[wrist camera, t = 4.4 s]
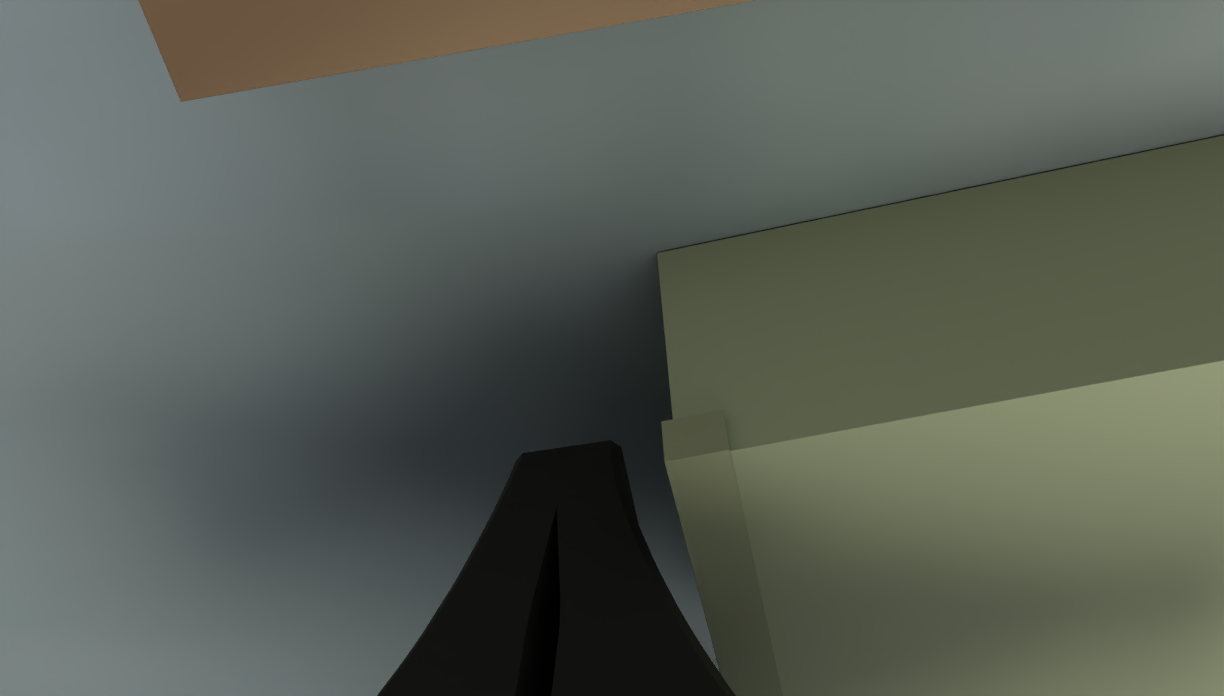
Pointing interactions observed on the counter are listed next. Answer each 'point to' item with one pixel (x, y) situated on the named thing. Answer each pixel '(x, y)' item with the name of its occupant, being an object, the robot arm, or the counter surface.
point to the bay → (358, 33)
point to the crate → (962, 438)
